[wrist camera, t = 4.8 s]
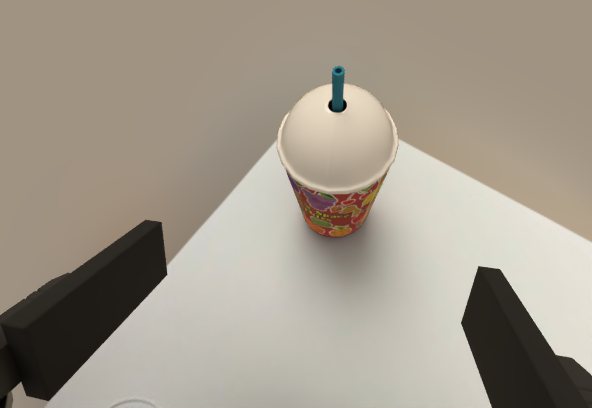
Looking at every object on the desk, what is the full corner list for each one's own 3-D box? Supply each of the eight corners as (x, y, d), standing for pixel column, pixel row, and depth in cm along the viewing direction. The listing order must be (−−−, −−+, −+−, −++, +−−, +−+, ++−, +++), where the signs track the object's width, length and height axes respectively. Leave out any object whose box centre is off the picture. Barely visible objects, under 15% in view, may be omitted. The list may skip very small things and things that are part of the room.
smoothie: (279, 219, 37) (228, 90, 18) (324, 162, 39) (319, -5, 20) (345, 264, 34) (363, 168, 16) (389, 200, 36) (450, 50, 18)
